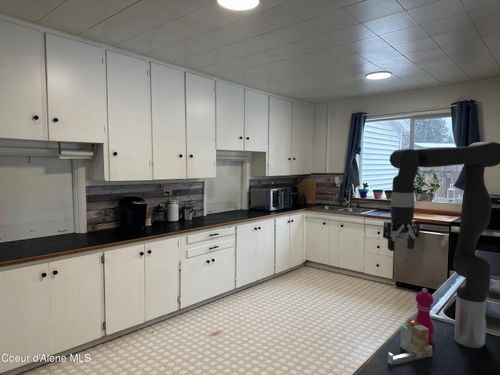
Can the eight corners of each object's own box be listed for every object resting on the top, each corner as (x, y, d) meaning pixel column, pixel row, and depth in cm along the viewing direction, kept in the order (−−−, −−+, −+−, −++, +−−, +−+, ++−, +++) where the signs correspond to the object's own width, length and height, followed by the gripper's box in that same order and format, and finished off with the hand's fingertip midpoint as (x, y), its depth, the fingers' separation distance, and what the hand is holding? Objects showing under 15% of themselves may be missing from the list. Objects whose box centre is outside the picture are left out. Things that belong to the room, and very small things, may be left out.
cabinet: (413, 343, 127) (413, 323, 127) (423, 350, 122) (424, 329, 122) (399, 346, 125) (400, 325, 125) (410, 353, 120) (411, 331, 120)
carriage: (421, 350, 121) (422, 324, 120) (429, 355, 117) (430, 328, 117) (409, 352, 119) (410, 326, 118) (418, 358, 116) (419, 331, 115)
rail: (428, 353, 120) (428, 344, 120) (431, 356, 119) (432, 346, 119) (387, 363, 115) (388, 353, 114) (391, 365, 113) (391, 355, 113)
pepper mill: (409, 339, 130) (411, 288, 129) (416, 332, 136) (418, 283, 134) (429, 346, 125) (431, 293, 124) (436, 339, 130) (438, 288, 129)
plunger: (412, 333, 126) (413, 318, 126) (420, 338, 122) (421, 322, 122) (404, 335, 125) (404, 319, 124) (412, 340, 121) (413, 324, 121)
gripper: (410, 203, 128) (408, 246, 129) (378, 204, 123) (377, 248, 124) (426, 205, 121) (424, 250, 122) (393, 206, 116) (392, 253, 117)
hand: (400, 249), depth 123 cm, fingers open, 8 cm apart
